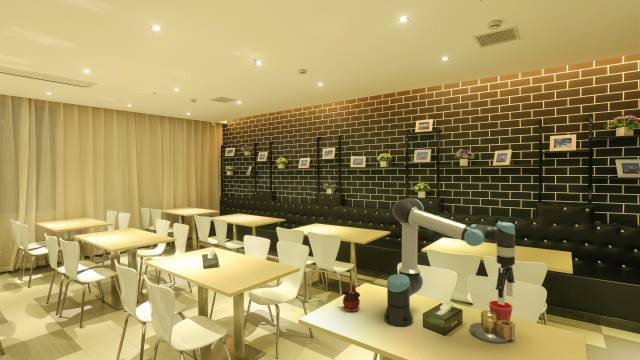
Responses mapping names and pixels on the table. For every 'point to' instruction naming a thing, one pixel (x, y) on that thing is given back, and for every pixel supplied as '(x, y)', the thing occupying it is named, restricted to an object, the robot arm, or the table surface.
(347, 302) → the red vase
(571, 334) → the table surface
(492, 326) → the carrier
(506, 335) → the gear
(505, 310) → the flower pot
